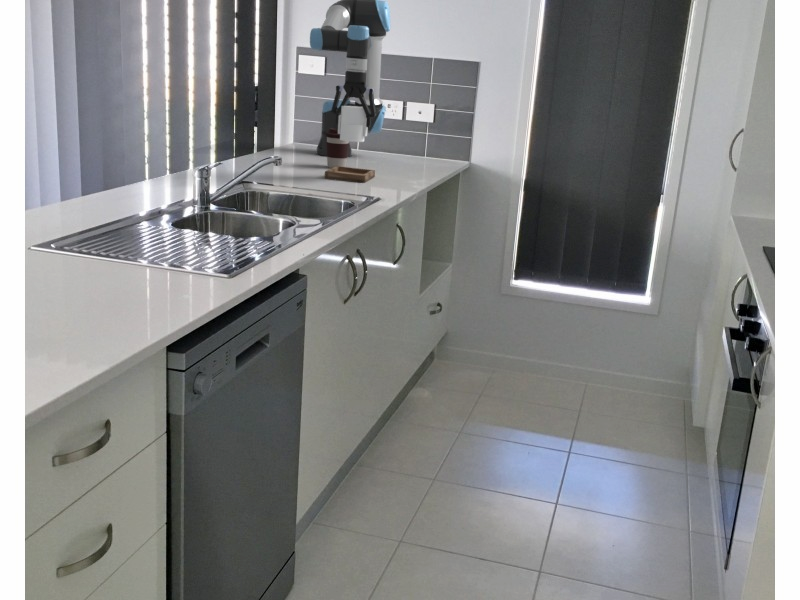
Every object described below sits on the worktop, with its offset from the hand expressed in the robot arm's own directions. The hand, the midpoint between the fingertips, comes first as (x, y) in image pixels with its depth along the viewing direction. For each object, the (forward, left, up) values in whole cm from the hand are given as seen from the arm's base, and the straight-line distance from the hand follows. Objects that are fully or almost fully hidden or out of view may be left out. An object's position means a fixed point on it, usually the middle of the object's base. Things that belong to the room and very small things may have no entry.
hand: (352, 134), depth 310 cm
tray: (0, 0, -16) cm, 16 cm away
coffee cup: (-20, -11, -16) cm, 28 cm away
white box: (0, 0, -2) cm, 2 cm away
